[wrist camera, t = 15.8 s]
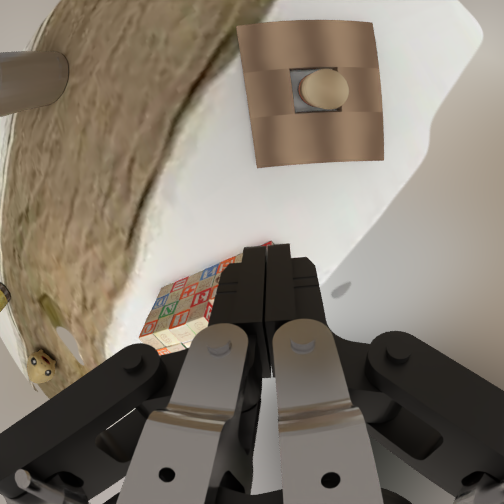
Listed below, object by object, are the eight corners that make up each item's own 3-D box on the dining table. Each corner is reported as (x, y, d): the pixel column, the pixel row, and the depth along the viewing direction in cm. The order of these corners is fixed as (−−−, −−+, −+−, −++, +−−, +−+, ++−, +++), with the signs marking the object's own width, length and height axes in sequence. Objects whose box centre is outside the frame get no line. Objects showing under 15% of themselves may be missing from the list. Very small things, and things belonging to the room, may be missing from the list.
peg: (298, 106, 32) (308, 110, 24) (294, 76, 30) (303, 69, 22) (330, 105, 32) (351, 109, 23) (326, 74, 30) (346, 68, 21)
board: (258, 162, 36) (256, 168, 34) (238, 31, 27) (236, 26, 25) (376, 155, 34) (383, 160, 32) (364, 27, 25) (372, 22, 23)
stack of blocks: (271, 238, 42) (271, 291, 32) (289, 270, 45) (293, 327, 34) (161, 287, 49) (136, 339, 38) (181, 312, 51) (163, 364, 41)
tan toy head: (64, 359, 66) (50, 386, 57) (56, 369, 71) (43, 393, 62) (39, 338, 63) (22, 364, 54) (33, 350, 68) (18, 374, 59)
